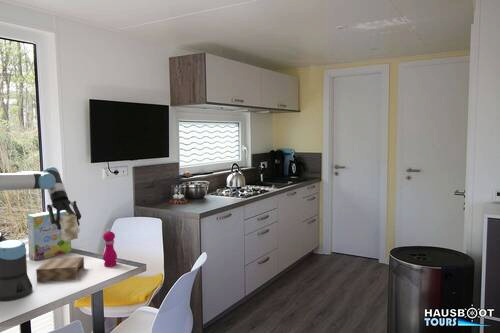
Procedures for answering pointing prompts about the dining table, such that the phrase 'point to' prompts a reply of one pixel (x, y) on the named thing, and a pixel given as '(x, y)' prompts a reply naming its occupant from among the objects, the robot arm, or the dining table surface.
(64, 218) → the birch block
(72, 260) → the brown wooden slab
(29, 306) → the dining table surface
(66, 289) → the dining table surface
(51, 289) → the dining table surface
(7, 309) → the dining table surface
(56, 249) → the snack box
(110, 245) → the pepper mill
